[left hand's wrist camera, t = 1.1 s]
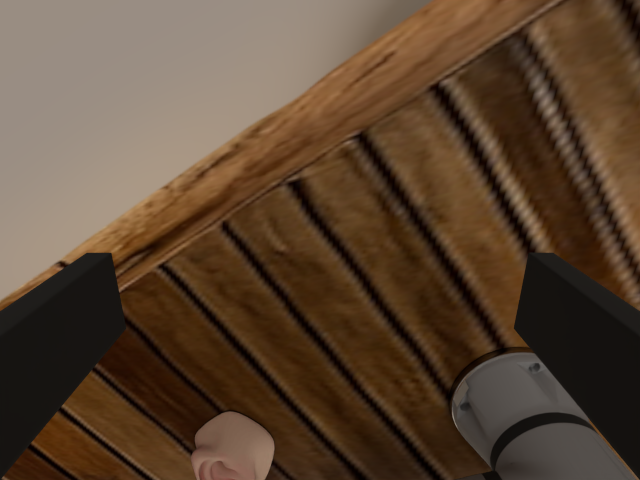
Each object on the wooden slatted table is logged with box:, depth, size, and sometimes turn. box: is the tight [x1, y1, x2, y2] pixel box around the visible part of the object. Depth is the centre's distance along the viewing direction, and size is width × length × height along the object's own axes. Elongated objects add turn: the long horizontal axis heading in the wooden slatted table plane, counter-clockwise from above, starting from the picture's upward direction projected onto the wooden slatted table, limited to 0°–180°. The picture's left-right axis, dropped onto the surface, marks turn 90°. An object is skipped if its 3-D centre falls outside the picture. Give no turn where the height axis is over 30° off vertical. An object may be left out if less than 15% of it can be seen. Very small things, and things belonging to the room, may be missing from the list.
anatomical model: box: [191, 411, 274, 480], centre depth 52 cm, size 13×4×12 cm
